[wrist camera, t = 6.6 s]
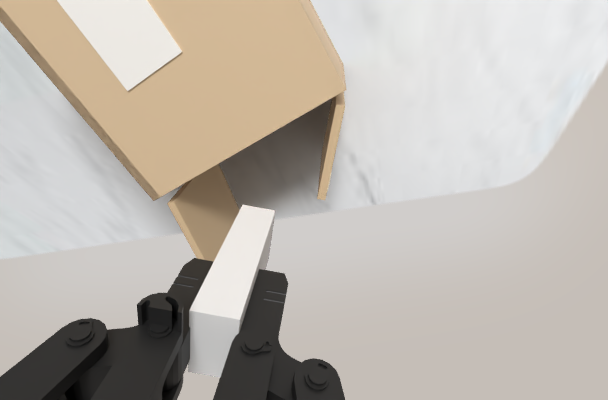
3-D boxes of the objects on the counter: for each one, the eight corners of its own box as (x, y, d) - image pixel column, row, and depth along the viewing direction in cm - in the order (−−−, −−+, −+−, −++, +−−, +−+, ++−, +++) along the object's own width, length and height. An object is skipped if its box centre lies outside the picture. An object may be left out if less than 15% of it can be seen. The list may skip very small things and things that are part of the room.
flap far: (214, 153, 32) (173, 201, 24) (240, 211, 34) (211, 271, 27) (208, 155, 32) (166, 204, 24) (234, 212, 35) (203, 273, 27)
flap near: (322, 150, 31) (317, 198, 23) (336, 78, 28) (335, 105, 20) (329, 151, 31) (326, 200, 23) (343, 79, 28) (346, 106, 20)
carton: (69, -34, 26) (-67, -55, 18) (219, -174, 22) (142, -295, 13) (203, 148, 32) (153, 201, 23) (343, 64, 28) (346, 89, 19)
